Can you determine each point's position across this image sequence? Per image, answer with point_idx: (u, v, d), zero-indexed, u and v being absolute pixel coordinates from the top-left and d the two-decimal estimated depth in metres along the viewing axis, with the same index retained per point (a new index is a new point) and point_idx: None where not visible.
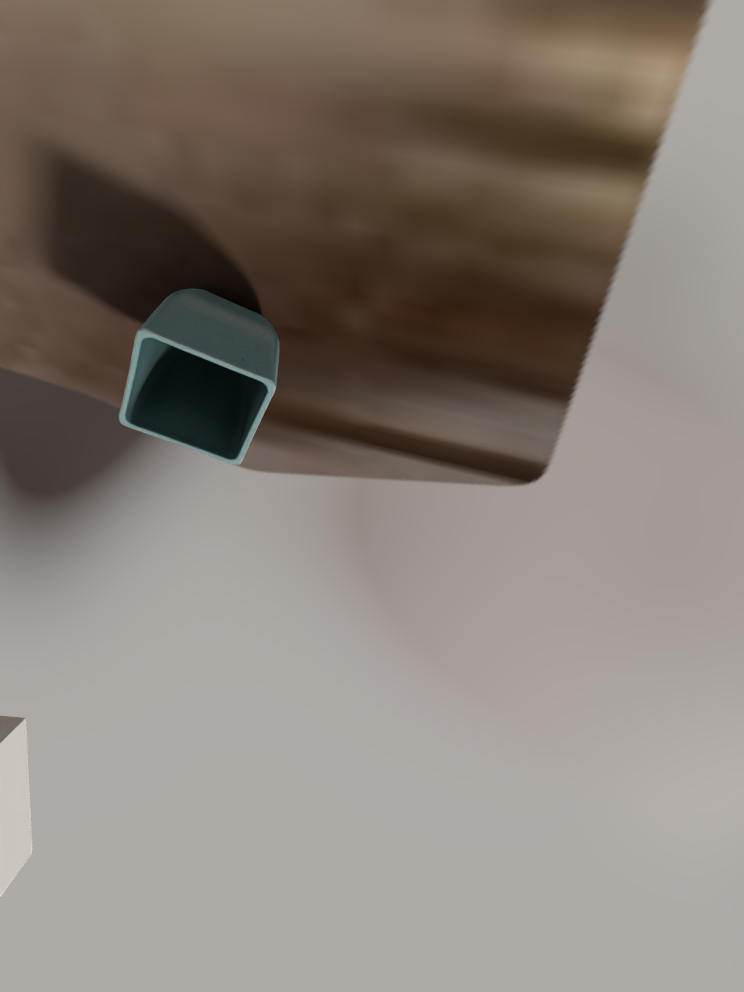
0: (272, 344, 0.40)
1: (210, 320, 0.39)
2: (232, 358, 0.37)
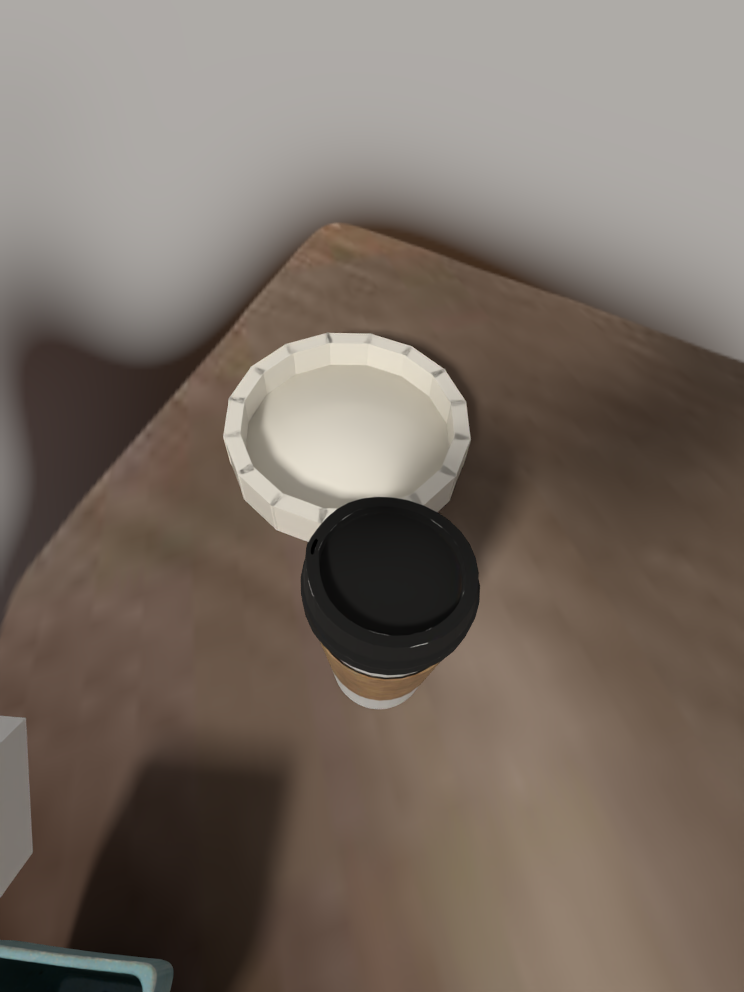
0: None
1: None
2: None
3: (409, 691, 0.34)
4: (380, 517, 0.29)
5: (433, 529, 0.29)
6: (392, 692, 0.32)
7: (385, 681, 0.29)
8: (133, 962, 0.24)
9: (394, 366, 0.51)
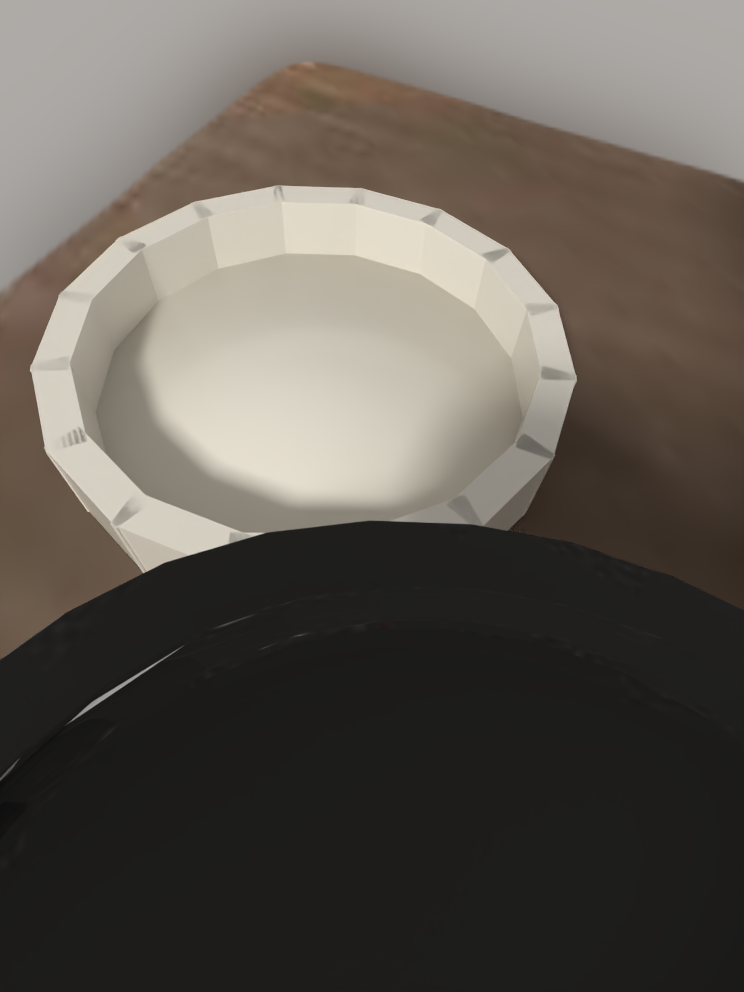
0: None
1: None
2: None
3: None
4: (392, 654, 0.04)
5: (737, 732, 0.04)
6: None
7: None
8: None
9: (406, 252, 0.26)
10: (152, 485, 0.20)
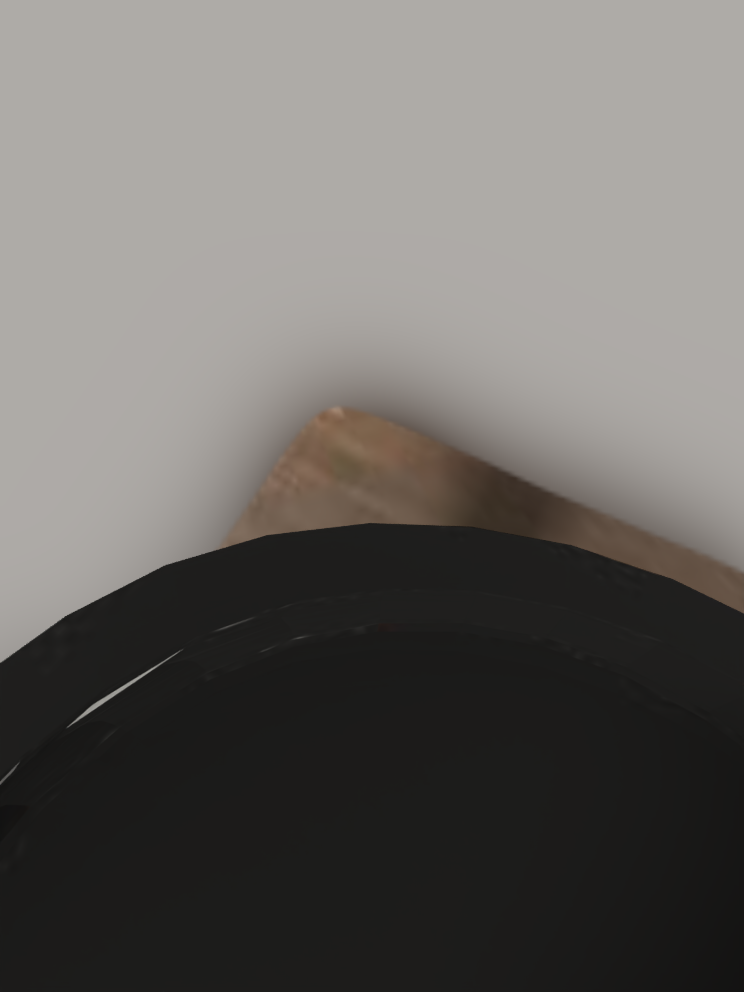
0: None
1: None
2: None
3: None
4: (392, 656, 0.04)
5: (736, 734, 0.04)
6: None
7: None
8: None
9: None
10: None
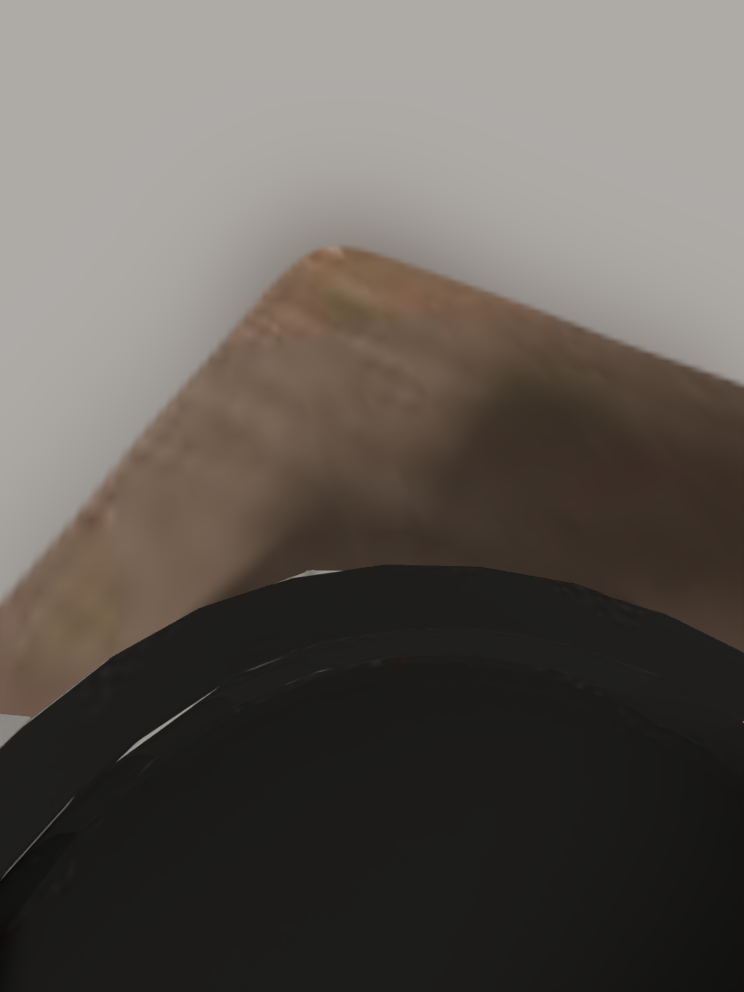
0: None
1: None
2: None
3: None
4: (406, 688, 0.05)
5: (728, 760, 0.05)
6: None
7: None
8: None
9: None
10: None
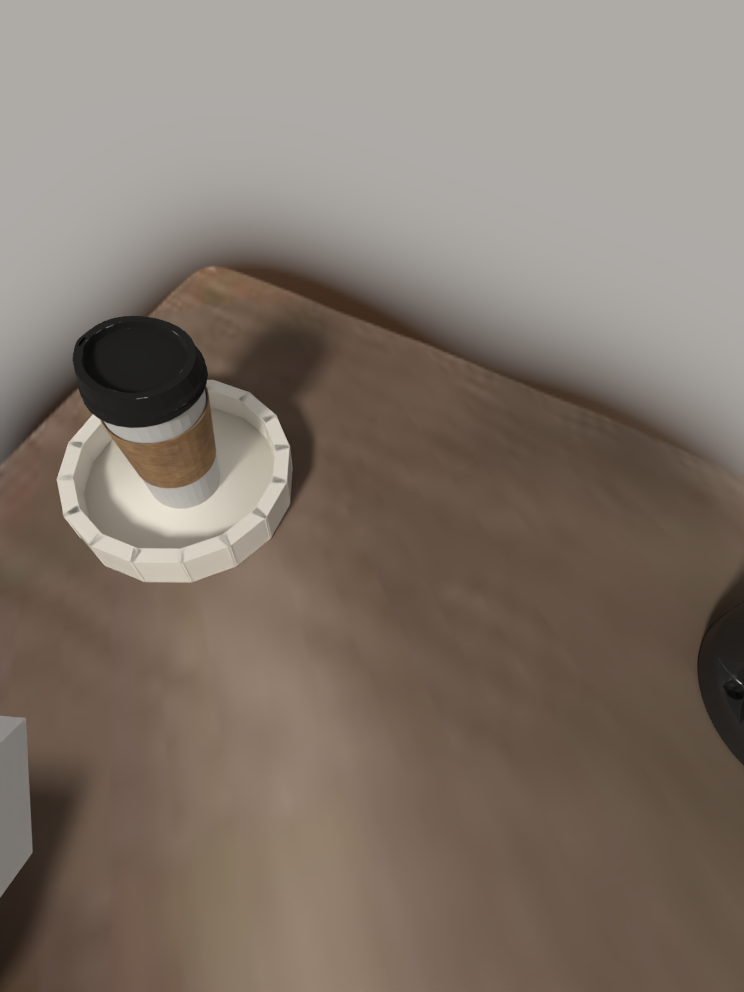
0: None
1: None
2: None
3: (186, 479, 0.46)
4: (139, 331, 0.41)
5: (176, 339, 0.41)
6: (164, 470, 0.44)
7: (142, 445, 0.41)
8: None
9: (235, 410, 0.55)
10: (107, 527, 0.49)
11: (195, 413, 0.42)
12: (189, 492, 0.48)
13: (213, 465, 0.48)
